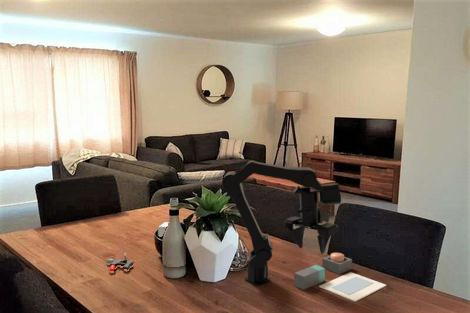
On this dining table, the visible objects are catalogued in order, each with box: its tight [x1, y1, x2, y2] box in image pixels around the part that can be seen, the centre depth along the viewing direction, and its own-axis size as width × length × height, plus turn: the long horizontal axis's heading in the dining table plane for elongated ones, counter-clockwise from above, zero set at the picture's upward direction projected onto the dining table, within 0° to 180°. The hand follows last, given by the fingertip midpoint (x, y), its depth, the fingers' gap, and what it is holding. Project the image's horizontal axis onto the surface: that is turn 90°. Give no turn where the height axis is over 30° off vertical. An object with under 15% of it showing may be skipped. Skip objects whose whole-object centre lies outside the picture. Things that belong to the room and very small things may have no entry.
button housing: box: [321, 255, 354, 275], centre depth 160 cm, size 8×8×4 cm
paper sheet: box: [318, 271, 387, 303], centre depth 144 cm, size 18×14×1 cm
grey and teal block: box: [293, 264, 326, 290], centre depth 146 cm, size 11×4×4 cm, turn 131°
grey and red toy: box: [106, 252, 135, 271], centre depth 159 cm, size 10×12×5 cm
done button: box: [330, 252, 345, 263], centre depth 159 cm, size 5×5×3 cm
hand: (311, 250), depth 146 cm, fingers open, 9 cm apart
